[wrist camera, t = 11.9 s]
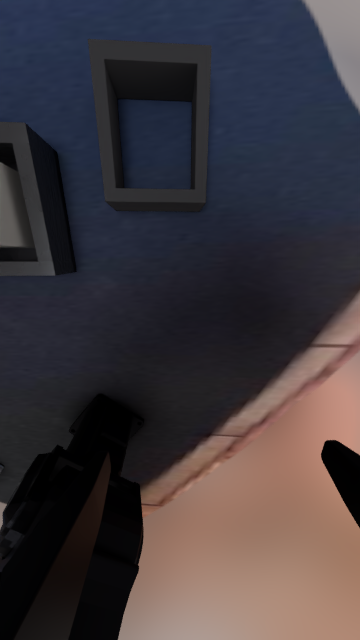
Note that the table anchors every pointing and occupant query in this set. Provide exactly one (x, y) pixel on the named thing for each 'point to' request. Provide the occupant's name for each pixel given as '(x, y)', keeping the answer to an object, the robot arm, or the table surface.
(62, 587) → the robot arm
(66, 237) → the port
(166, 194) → the frame
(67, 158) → the table surface
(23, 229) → the plug
